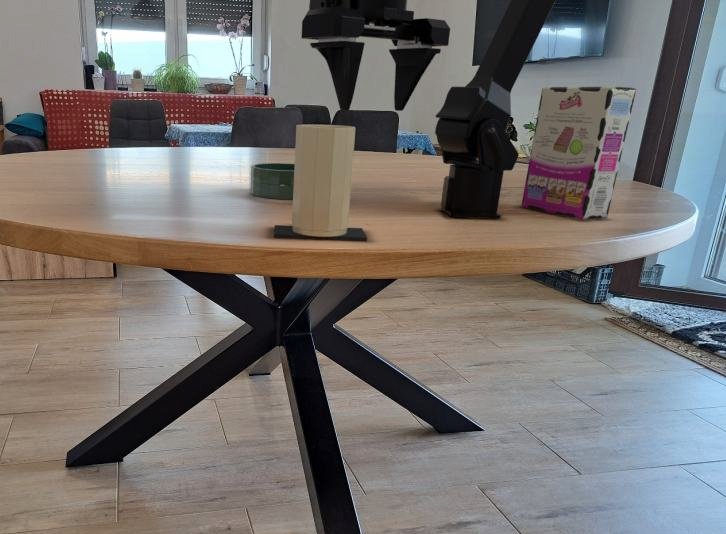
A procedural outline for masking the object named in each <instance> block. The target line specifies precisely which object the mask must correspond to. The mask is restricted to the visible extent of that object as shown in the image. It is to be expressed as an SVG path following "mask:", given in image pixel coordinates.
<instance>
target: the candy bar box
mask: <svg viewBox="0 0 726 534" xmlns="http://www.w3.org/2000/svg"><path fill="white" fill-rule="evenodd" d="M636 93H637V88H635V87H631V86H630V87H626V86H543V87H542V88H541V94H540V98H539V105H538V110H537V116H536V120H535V122H536V123H535V126H534V127H535V128H534V135H533V139H532V143H531V150H530V156H529V159H528V160H529V162H528V166H527V167H528V168H527V171H526V177H525V183H524V189H523V195H522V200H521V205H520V206H521V207H522V208H524V209H529V210H534V211H538V212H543V213H548V214H553V215H557V216H562V217H567V218H571V219H577V220H581V221H589V220H604V219H607V218H608V216H609V212H610V207H611V203H612V199H613V194H614V190H615V185H616V182H617V181H616V180H617V175H618V172H619V167H620V163H621V160H622V154H623V149H624V145H625V141H626V138H627V132H628V128H629V124H630V119H631V115H632V111H633V106H634V101H635V97H636Z"/></svg>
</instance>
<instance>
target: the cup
mask: <svg viewBox="0 0 726 534" xmlns="http://www.w3.org/2000/svg"><path fill="white" fill-rule="evenodd" d="M355 140H356V127H355V126H351V125H338V124H296V127H295V150H294V164H295V168H294V191H293V200H292V216H291V217H292V218H291V226H292V231H293V232H295V233H298V234H302V235H307V236H317V237H333V236H341V235H344V234H346V233H347V228H349V220H350V219H349V218H350V206H351V205H350V203H351V193H352V192H351V191H352V180H353V179H352V178H353V168H354V167H353V166H354V164H353V163H354V153H355Z"/></svg>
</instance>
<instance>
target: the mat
mask: <svg viewBox="0 0 726 534" xmlns="http://www.w3.org/2000/svg"><path fill="white" fill-rule="evenodd" d="M273 230H274V231H273V238H274V239H297V240H298V239H299V240H300V239H301V240H326V241H327V240H328V241H329V240H330V241H353V242H355V241H356V242H357V241H359V242H367V241H368V237H367V235H366V232H365V231H364V229H363V228H362V227H348V228H347V233H346V234H344V235H341V236H333V237H317V236H307V235H302V234H298V233H295V232H293V231H292V225H288V224H287V225H286V224H285V225H284V224H275V225H274V229H273Z"/></svg>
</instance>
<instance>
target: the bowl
mask: <svg viewBox="0 0 726 534" xmlns="http://www.w3.org/2000/svg"><path fill="white" fill-rule="evenodd" d="M294 168H295V163H291V162H290V163H289V162H261V163H254V164H251V166H250V189H249V190H250V191H249V192H250V193H249V194H250V195H252V196H255V197H258V198H264V199H272V200H287V201H288V200H290V201H293V191H294Z"/></svg>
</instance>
